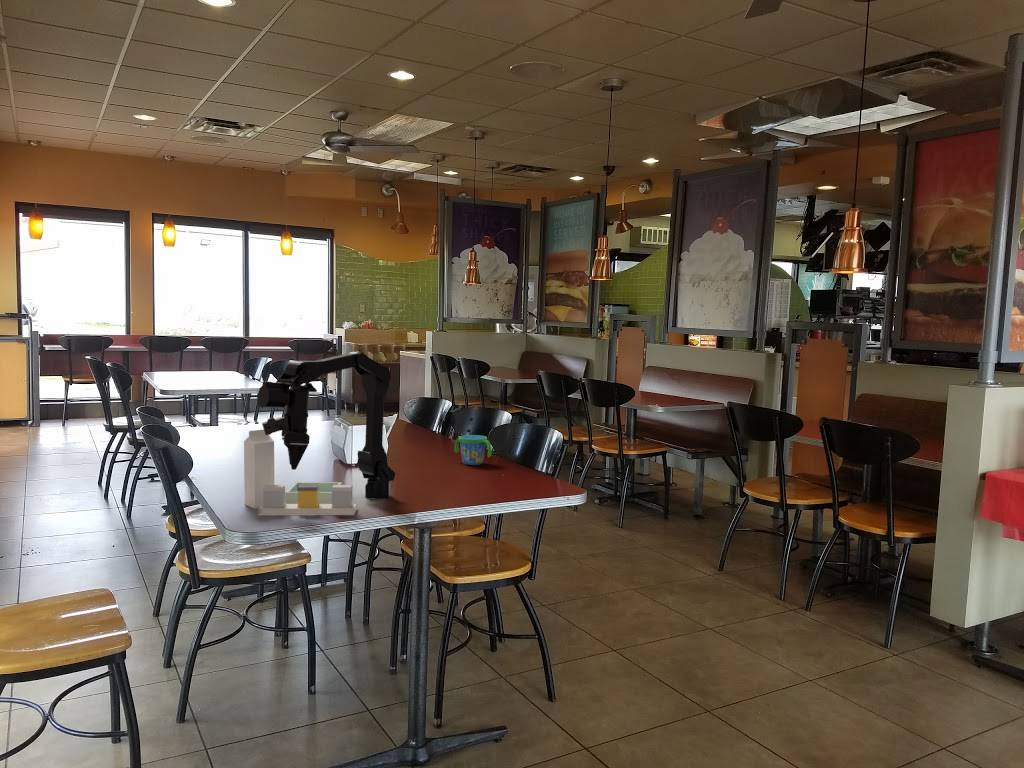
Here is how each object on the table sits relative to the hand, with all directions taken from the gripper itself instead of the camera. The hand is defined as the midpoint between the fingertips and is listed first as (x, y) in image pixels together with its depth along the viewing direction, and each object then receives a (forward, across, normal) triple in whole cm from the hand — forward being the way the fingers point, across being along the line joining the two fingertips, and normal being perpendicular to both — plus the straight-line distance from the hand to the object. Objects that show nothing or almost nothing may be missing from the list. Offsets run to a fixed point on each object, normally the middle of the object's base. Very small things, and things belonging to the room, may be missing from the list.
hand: (292, 467), depth 201 cm
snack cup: (+6, -63, +68) cm, 93 cm away
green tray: (+12, -16, +8) cm, 21 cm away
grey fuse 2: (+12, +1, +14) cm, 18 cm away
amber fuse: (+12, -2, +5) cm, 13 cm away
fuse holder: (+13, -2, +5) cm, 14 cm away
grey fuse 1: (+13, -4, -4) cm, 14 cm away
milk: (+14, -13, -7) cm, 20 cm away
